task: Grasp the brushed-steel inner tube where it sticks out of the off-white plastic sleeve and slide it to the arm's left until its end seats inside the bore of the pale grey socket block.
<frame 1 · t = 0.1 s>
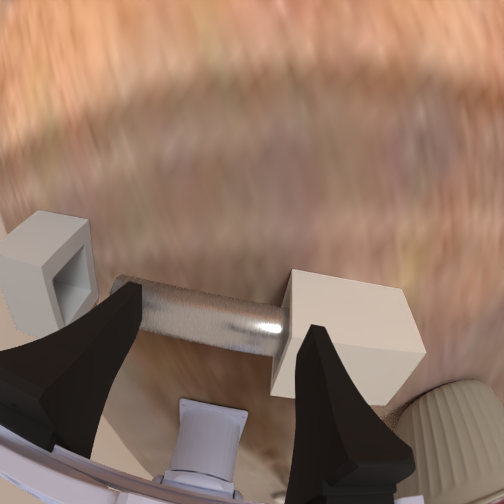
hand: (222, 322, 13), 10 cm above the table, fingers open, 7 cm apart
canister: (441, 403, 32), on the table
sleeve: (337, 310, 25), on the table
tube: (267, 330, 22), point 4 cm above the table, slide at 0.0 cm
socket: (68, 255, 25), on the table
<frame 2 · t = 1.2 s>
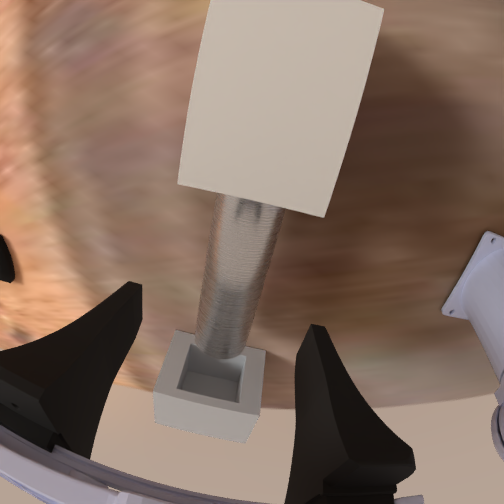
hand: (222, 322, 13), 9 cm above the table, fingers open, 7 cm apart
sleeve: (279, 85, 17), on the table
tube: (253, 193, 16), point 3 cm above the table, slide at 0.0 cm
socket: (216, 359, 29), on the table
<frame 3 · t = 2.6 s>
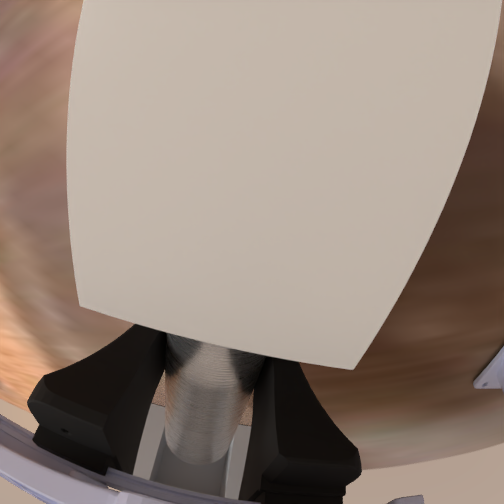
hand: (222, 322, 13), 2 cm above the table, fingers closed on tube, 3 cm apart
sleeve: (275, 92, 10), on the table
tube: (229, 285, 10), point 3 cm above the table, slide at 0.0 cm, touching gripper
socket: (199, 432, 22), on the table
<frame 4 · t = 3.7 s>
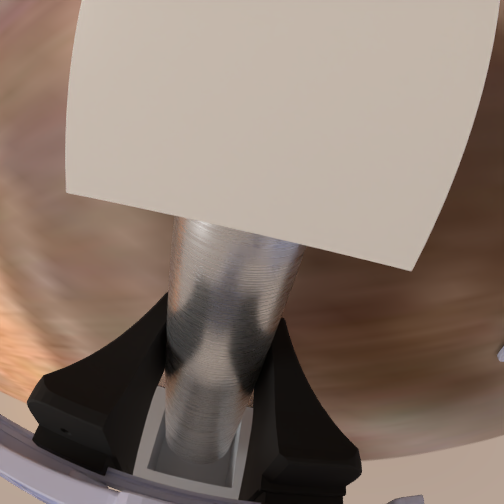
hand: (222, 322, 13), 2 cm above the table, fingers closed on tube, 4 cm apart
sleeve: (291, 19, 9), on the table
tube: (229, 283, 10), point 3 cm above the table, slide at 2.6 cm, touching gripper
socket: (203, 417, 21), on the table
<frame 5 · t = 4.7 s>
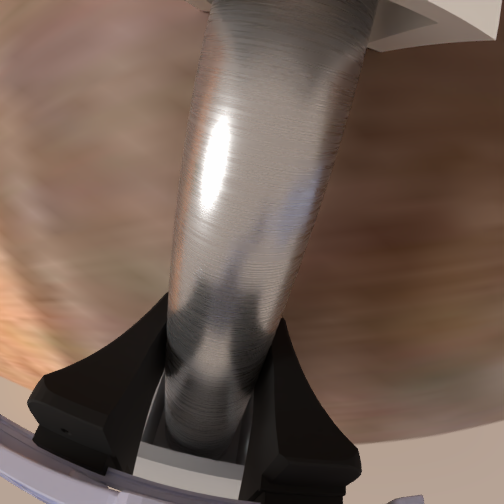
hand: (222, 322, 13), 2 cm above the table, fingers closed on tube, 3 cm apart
tube: (230, 281, 10), point 4 cm above the table, slide at 6.8 cm, touching gripper
socket: (209, 386, 18), on the table
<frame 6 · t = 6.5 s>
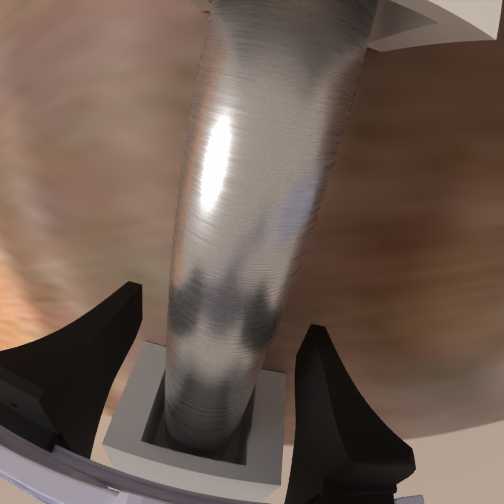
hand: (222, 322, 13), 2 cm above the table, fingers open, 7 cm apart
tube: (230, 281, 10), point 4 cm above the table, slide at 6.8 cm
socket: (209, 386, 18), on the table
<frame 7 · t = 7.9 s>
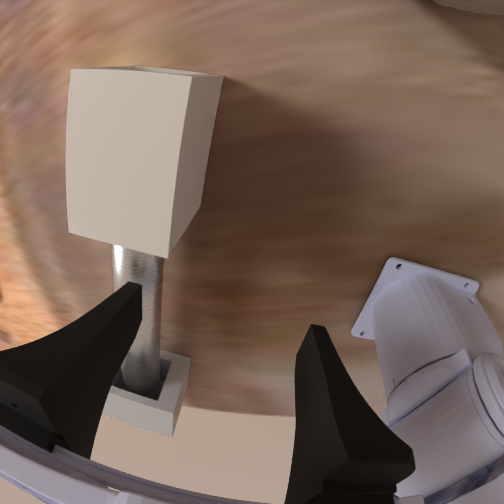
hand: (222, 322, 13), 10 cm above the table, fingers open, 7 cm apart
sleeve: (165, 135, 20), on the table
tube: (137, 311, 23), point 3 cm above the table, slide at 6.8 cm
socket: (152, 363, 32), on the table
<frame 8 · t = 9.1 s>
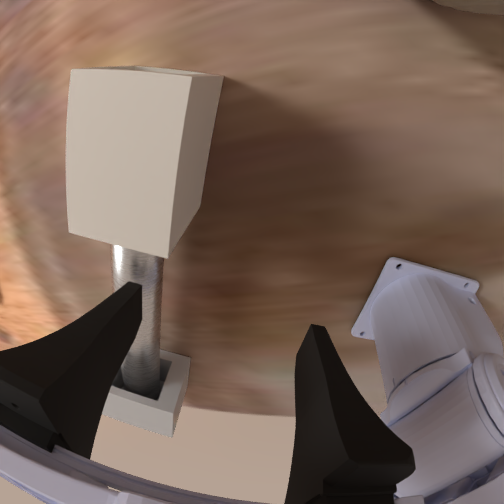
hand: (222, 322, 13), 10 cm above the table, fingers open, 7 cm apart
sleeve: (165, 135, 20), on the table
tube: (137, 311, 23), point 3 cm above the table, slide at 6.8 cm
socket: (152, 363, 32), on the table
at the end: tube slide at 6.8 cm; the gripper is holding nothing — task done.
